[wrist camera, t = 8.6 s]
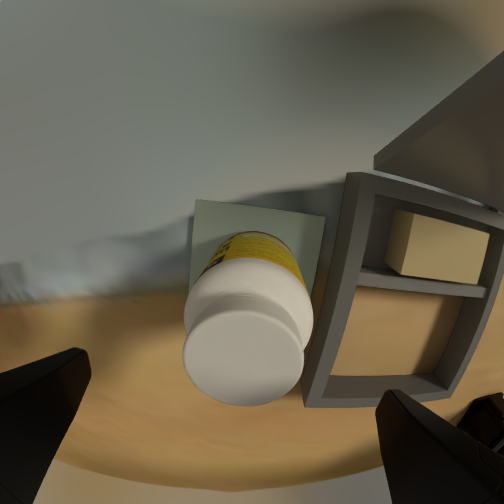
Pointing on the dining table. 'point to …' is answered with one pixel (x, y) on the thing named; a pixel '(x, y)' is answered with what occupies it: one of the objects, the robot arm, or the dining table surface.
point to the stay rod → (497, 210)
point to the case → (405, 281)
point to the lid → (457, 141)
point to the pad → (260, 219)
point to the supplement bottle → (247, 321)
